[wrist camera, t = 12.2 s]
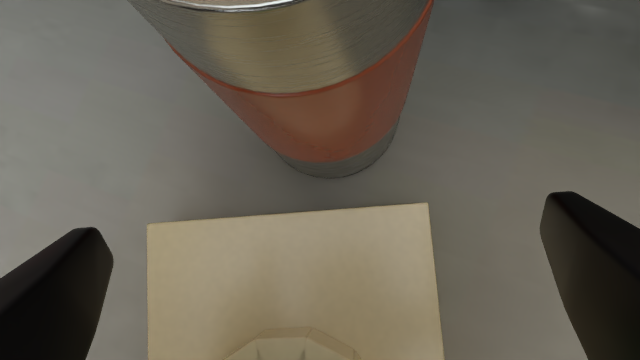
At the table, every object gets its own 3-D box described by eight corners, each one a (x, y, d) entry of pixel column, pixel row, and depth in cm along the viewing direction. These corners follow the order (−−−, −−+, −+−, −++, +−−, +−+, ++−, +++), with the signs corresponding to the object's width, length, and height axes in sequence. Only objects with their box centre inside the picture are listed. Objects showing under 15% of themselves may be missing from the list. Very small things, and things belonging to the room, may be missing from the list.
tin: (406, 173, 19) (520, -18, 5) (266, 184, 19) (22, 41, 6) (393, 39, 20) (460, -434, 6) (260, 54, 20) (36, -349, 6)
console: (170, 225, 20) (121, 221, 16) (421, 206, 19) (436, 196, 15) (174, 489, 18) (121, 558, 14) (449, 484, 17) (474, 557, 13)
